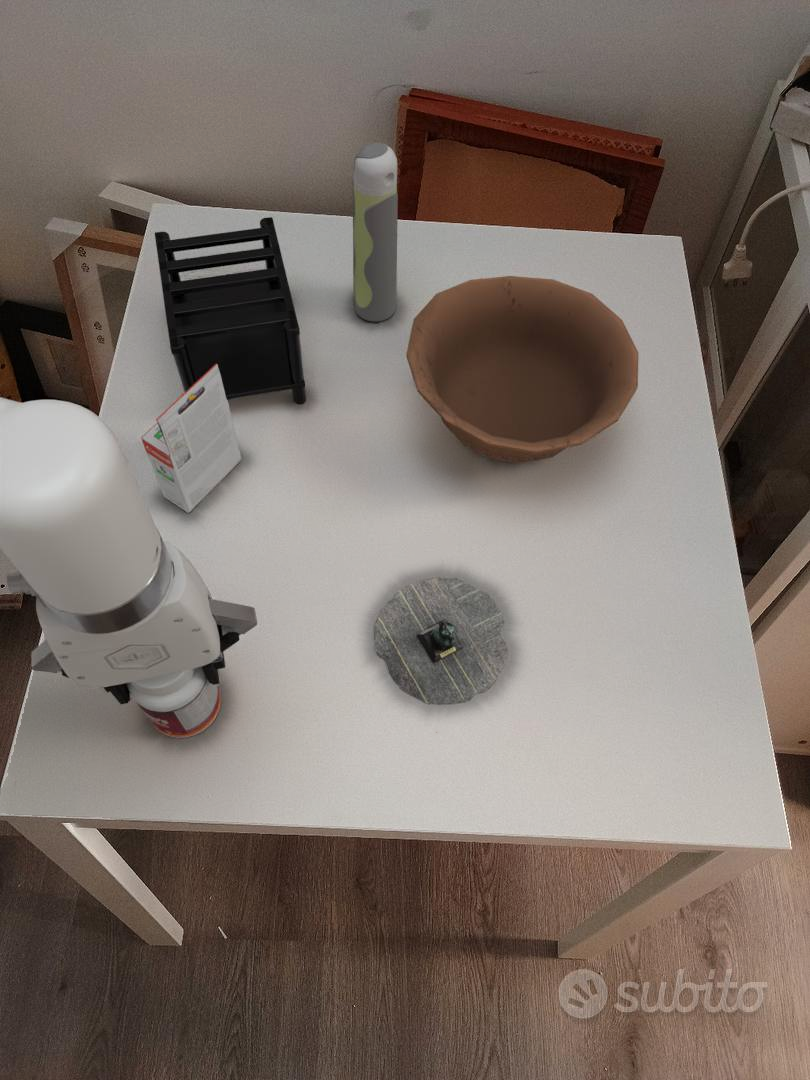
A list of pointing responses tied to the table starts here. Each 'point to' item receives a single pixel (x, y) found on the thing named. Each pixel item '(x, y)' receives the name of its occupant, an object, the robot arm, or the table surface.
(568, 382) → the bowl
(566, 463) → the table surface
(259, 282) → the rack
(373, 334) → the table surface
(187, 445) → the ink box
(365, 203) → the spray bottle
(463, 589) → the sculpture
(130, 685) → the pill bottle
